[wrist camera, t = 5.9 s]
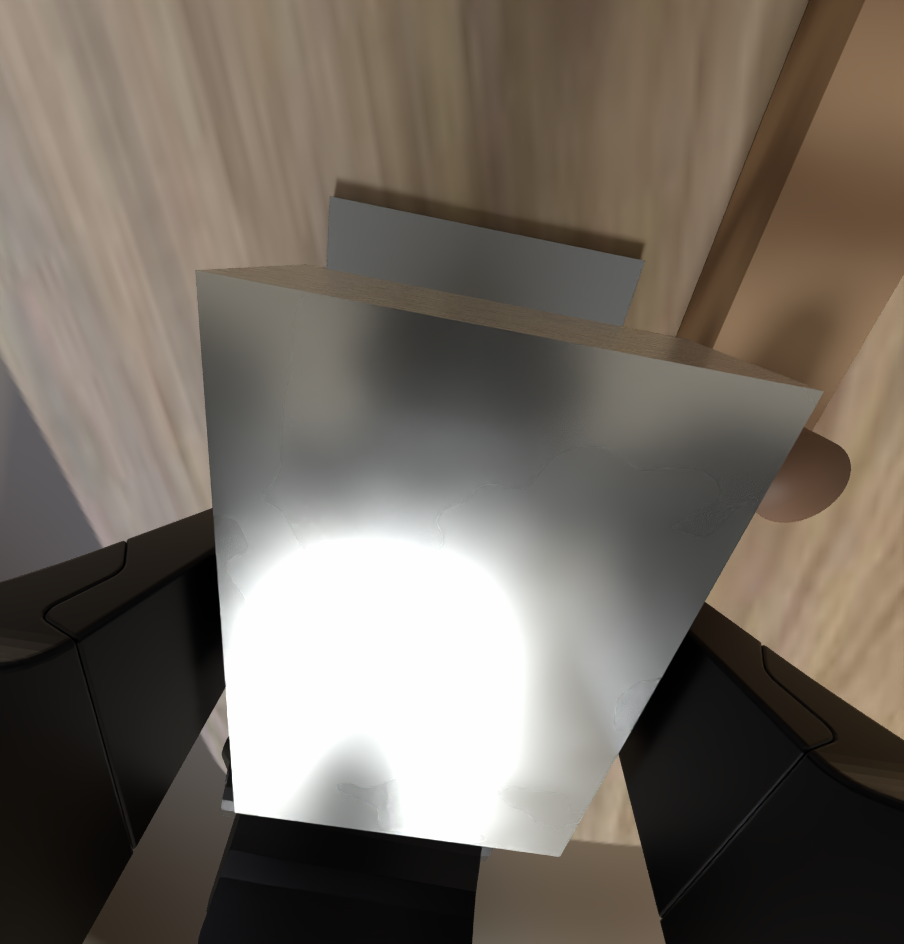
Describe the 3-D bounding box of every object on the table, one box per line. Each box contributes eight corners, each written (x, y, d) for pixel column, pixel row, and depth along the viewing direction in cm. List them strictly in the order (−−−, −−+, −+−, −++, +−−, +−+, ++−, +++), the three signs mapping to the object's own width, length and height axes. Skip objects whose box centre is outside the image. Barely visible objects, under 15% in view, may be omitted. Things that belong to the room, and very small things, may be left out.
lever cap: (537, 708, 11) (559, 857, 8) (294, 671, 11) (234, 812, 8) (685, 338, 7) (823, 391, 4) (305, 264, 7) (195, 269, 4)
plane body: (729, 473, 21) (863, 587, 14) (629, 455, 21) (712, 561, 14) (1058, -158, 12) (1885, -735, 5) (889, -202, 12) (1511, -876, 5)
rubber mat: (554, 517, 23) (555, 522, 22) (319, 476, 22) (316, 480, 21) (640, 260, 17) (644, 260, 17) (333, 197, 17) (329, 196, 16)
